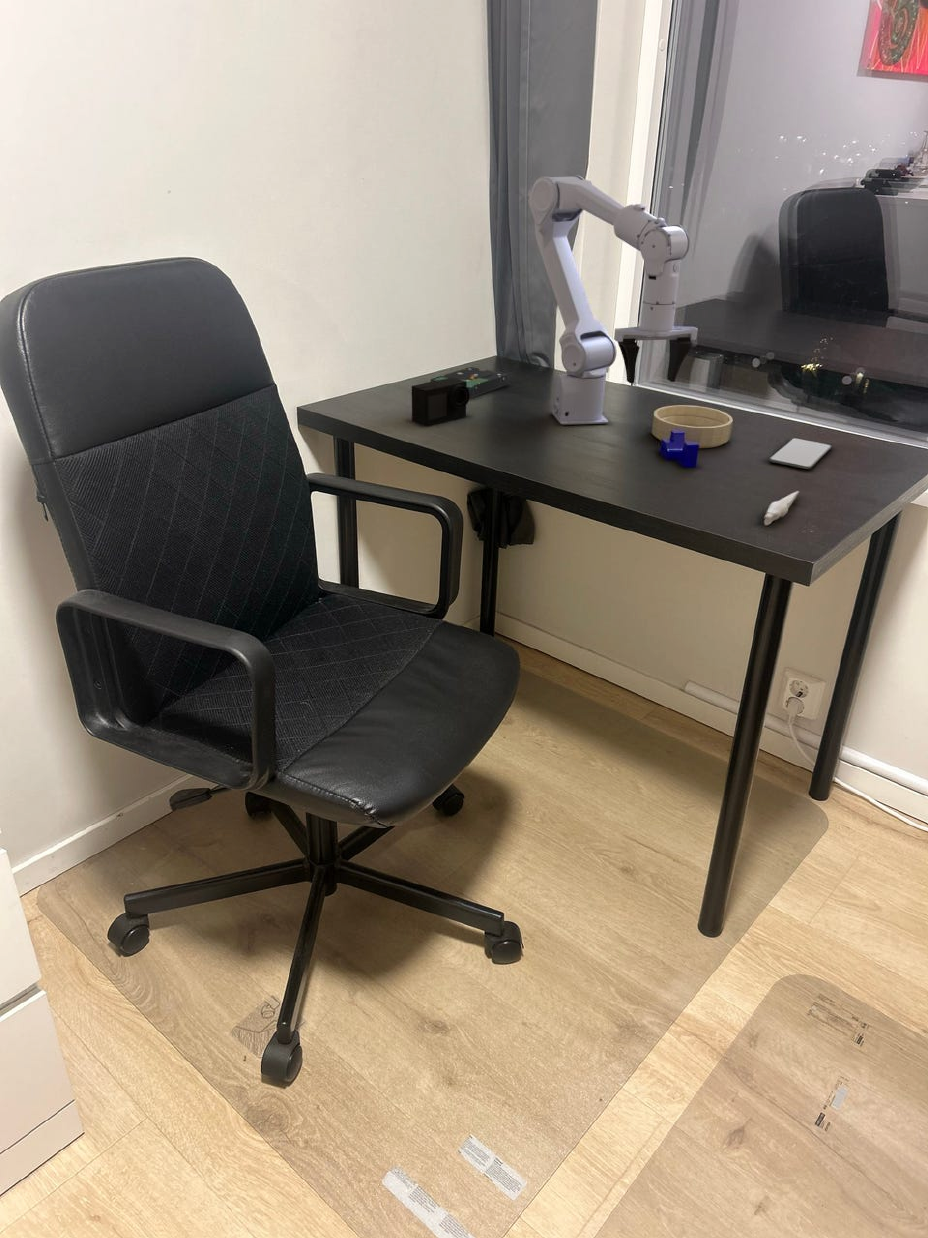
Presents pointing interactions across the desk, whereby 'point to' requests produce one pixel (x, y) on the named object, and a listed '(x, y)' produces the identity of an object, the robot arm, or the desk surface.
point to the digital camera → (439, 401)
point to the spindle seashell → (779, 508)
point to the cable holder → (680, 449)
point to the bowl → (693, 424)
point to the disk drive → (477, 380)
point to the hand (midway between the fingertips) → (650, 381)
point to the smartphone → (800, 453)
